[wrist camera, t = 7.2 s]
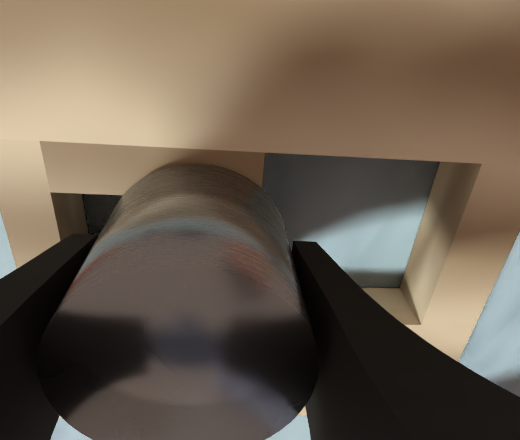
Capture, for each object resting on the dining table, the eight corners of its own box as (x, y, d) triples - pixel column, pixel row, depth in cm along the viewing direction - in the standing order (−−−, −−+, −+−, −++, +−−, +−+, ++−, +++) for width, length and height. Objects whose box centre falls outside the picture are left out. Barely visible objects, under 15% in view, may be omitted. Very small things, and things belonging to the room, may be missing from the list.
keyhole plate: (413, 373, 18) (433, 413, 16) (78, 374, 16) (59, 417, 15) (578, -41, 10) (651, -50, 8) (-32, -106, 9) (-99, -133, 7)
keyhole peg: (270, 271, 14) (300, 455, 8) (133, 268, 14) (62, 463, 8) (284, 141, 12) (341, 270, 6) (120, 132, 11) (5, 263, 6)
